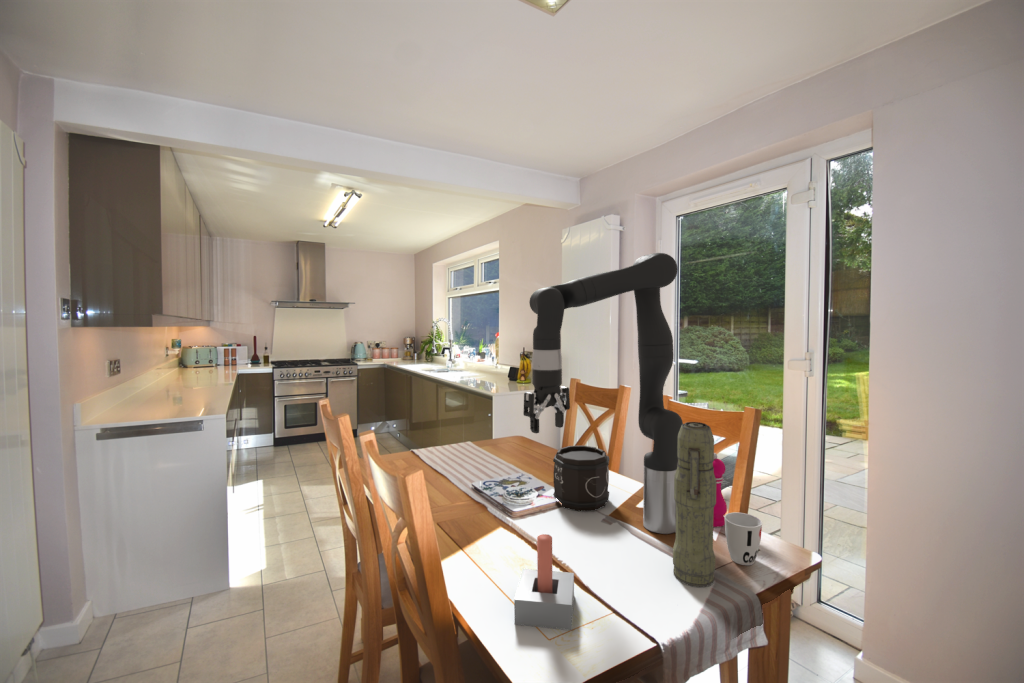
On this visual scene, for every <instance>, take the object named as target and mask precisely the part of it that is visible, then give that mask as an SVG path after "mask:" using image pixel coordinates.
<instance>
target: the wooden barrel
mask: <svg viewBox="0 0 1024 683" xmlns="http://www.w3.org/2000/svg"><path fill="white" fill-rule="evenodd" d="M552 461H553V464H554V465H553V490H554V492H553V494H552V496H553V498H555V499H556V498H557V499H558V500H559V501H560V502H561V503H562V506H561V508H563V509H568V510H571V511H576V512H594V511H597V510H599V509H601V508H604V507H606V503H608V502H609V499H610V498H609V497H610V491H609V490H608V489H609V482H610V481H609V480H610V478H609V476H610V474H609V473H610V469H609V468H610V467H609V464H610V456H609V455H607V452H606V451H605V450H604V449H600V448H599V447H598V448H597V447H595V446H589V445H568V446H565V447H560V448H558V450H557V451H556V453H555V455H554V457H553V460H552Z"/></svg>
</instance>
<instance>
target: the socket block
mask: <svg viewBox="0 0 1024 683" xmlns="http://www.w3.org/2000/svg"><path fill="white" fill-rule="evenodd" d="M552 590H553V594H551V593H540V592H538V569H530V568H522V571H521V574H520V578H519V581H518V584H517V589H516V592H515V595H514V600H513V603H514V604H513V605H514V609H513V610H514V625H519V626H527V627H529V626H530V627H537V628H547V629H549V628H550V629H557V630H565V631H567V630H568V631H573V630H572V629H573V616H574V603H575V602H574V601H575V572H566V571H556V570H555V571H554V570H552Z"/></svg>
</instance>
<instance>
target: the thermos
mask: <svg viewBox="0 0 1024 683" xmlns="http://www.w3.org/2000/svg"><path fill="white" fill-rule="evenodd" d="M714 453H715V438H714V434H713V431H712V428H711V426H709V425H708V424H706V423H704V422H699V421H687V422H685V423H683V424H682V425H681V428H680V431H679V433H678V450H677V457H678V463H677V470H676V472H675V475H674V500H675V502H676V532H675V540H674V544H673V547H672V565H673V572H672V573H673V576H674V578H675V579H676V580H677V581H678V582H679V583H682V584H683V585H687V586H690V587H695V588H706V587H710V586H711V585H713V584H714V581H715V571H716V554H715V552H714V527H713V512H714V506H715V504H716V478H715V475H714V467H713V461H714Z"/></svg>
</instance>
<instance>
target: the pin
mask: <svg viewBox="0 0 1024 683" xmlns="http://www.w3.org/2000/svg"><path fill="white" fill-rule="evenodd" d="M536 539H537V543H536V544H537V545H536V546H537V550H536V551H537V560H536V562H537V563H536V564H537V570H538V592H540V593H551V594H553V590H552V571H553V536H552V535H550V534H543V533H542V534H539V535H537V537H536Z"/></svg>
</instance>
